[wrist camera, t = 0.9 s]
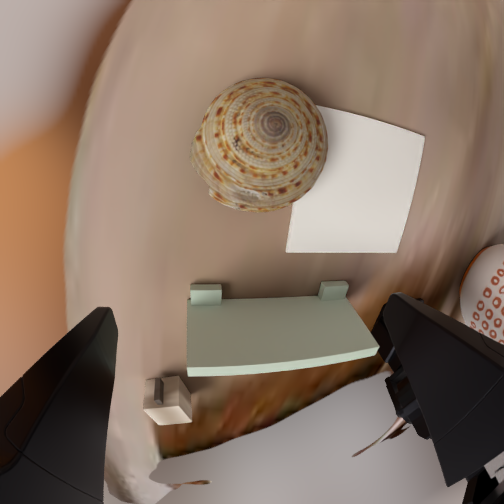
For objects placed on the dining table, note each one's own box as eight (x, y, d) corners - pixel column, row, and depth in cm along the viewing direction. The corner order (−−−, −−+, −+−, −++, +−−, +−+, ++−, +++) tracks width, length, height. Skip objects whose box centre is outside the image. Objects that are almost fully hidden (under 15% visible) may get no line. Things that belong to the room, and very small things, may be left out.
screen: (347, 280, 24) (386, 332, 18) (336, 314, 26) (367, 367, 19) (186, 284, 21) (185, 352, 15) (188, 322, 23) (189, 388, 17)
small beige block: (175, 369, 26) (175, 401, 22) (190, 393, 28) (192, 422, 25) (141, 374, 26) (138, 404, 22) (159, 397, 28) (159, 425, 25)
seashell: (160, 182, 15) (226, 59, 10) (192, 146, 19) (248, 55, 14) (277, 250, 17) (368, 158, 12) (282, 201, 21) (350, 126, 16)
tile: (422, 136, 18) (424, 136, 18) (394, 251, 23) (396, 252, 23) (306, 103, 16) (308, 103, 16) (285, 250, 21) (286, 252, 21)
